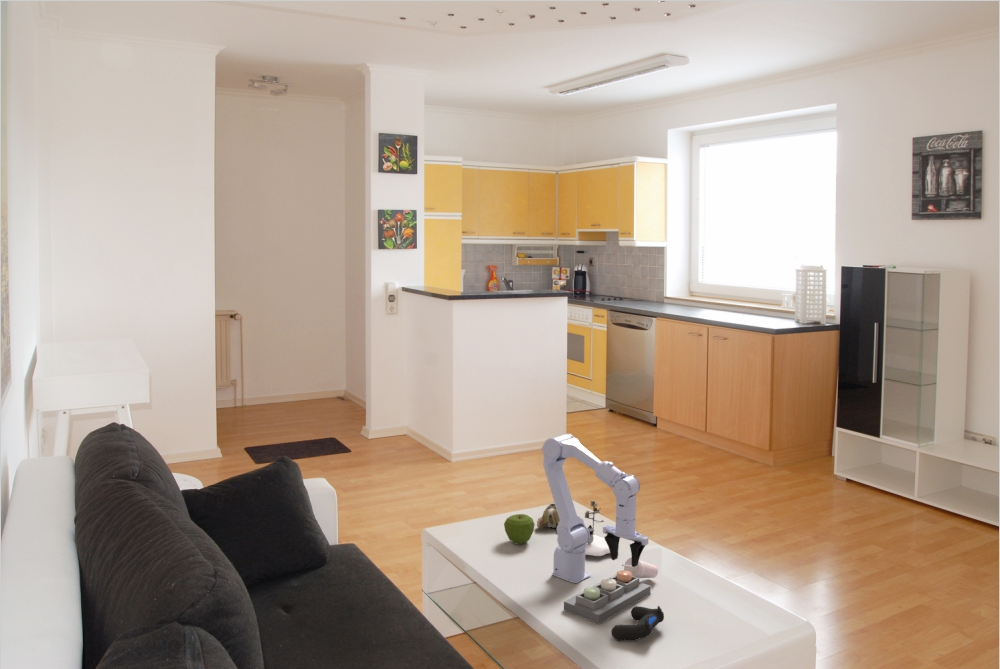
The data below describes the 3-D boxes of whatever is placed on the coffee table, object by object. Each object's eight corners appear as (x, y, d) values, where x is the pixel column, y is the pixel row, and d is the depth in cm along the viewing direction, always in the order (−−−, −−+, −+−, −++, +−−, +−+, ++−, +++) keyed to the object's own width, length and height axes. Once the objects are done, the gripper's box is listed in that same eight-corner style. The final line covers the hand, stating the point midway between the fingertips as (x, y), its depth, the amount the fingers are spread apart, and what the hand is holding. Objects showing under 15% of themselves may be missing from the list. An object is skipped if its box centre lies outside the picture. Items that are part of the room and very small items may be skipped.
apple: (515, 534, 277) (515, 507, 276) (540, 541, 271) (540, 513, 269) (497, 543, 268) (498, 515, 267) (523, 550, 262) (523, 521, 261)
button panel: (563, 609, 218) (564, 594, 218) (616, 582, 237) (616, 567, 237) (598, 623, 210) (599, 608, 210) (650, 593, 229) (650, 579, 229)
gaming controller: (616, 651, 201) (648, 641, 196) (606, 630, 202) (638, 619, 197) (641, 626, 215) (671, 615, 210) (631, 606, 216) (661, 595, 211)
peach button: (613, 580, 229) (613, 573, 229) (621, 575, 232) (622, 569, 232) (626, 584, 226) (626, 577, 226) (634, 579, 229) (634, 573, 229)
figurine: (609, 561, 251) (611, 511, 251) (557, 552, 259) (558, 504, 258) (627, 546, 269) (628, 499, 269) (577, 538, 277) (578, 493, 277)
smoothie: (664, 571, 236) (633, 566, 228) (653, 586, 238) (621, 582, 230) (653, 556, 241) (621, 550, 233) (642, 571, 243) (610, 566, 235)
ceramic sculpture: (568, 497, 291) (565, 513, 276) (568, 519, 292) (565, 536, 278) (540, 496, 293) (535, 511, 278) (540, 518, 294) (535, 534, 280)
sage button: (580, 597, 217) (581, 590, 217) (590, 592, 221) (590, 585, 220) (593, 602, 214) (593, 595, 214) (603, 597, 218) (603, 590, 217)
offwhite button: (597, 588, 223) (597, 581, 223) (606, 583, 226) (606, 577, 226) (610, 593, 220) (610, 586, 220) (619, 588, 223) (619, 581, 223)
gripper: (654, 520, 225) (653, 565, 227) (612, 508, 235) (611, 552, 236) (641, 526, 220) (639, 572, 221) (599, 514, 230) (598, 558, 231)
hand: (624, 562), depth 229 cm, fingers open, 6 cm apart
